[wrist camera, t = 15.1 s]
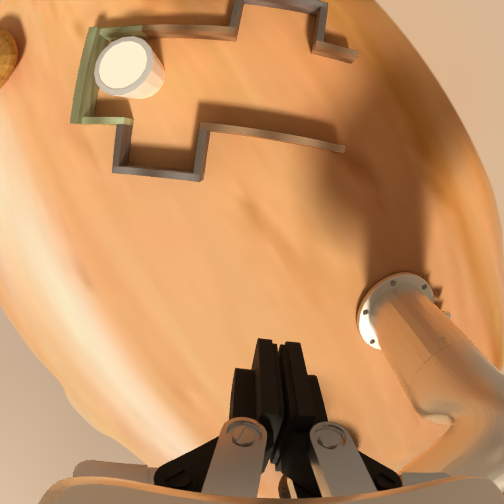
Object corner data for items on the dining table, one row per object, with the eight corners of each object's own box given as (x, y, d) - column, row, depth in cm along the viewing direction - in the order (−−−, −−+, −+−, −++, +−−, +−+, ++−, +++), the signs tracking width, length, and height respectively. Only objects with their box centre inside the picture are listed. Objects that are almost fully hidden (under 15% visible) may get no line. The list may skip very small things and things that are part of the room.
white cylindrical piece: (171, 98, 33) (153, 88, 26) (119, 108, 33) (93, 101, 26) (169, 48, 31) (153, 29, 24) (118, 59, 31) (94, 45, 24)
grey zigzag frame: (355, 20, 29) (364, 9, 25) (328, 199, 37) (337, 204, 33) (112, 1, 28) (101, -10, 24) (81, 168, 35) (65, 170, 31)
